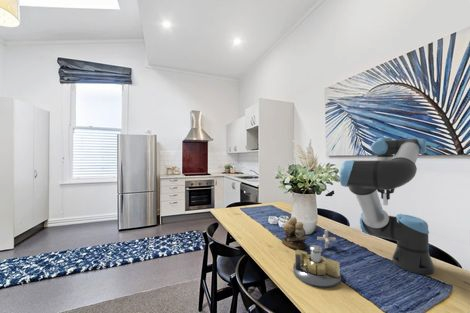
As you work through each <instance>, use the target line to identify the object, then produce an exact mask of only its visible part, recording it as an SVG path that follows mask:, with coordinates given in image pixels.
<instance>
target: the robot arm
mask: <svg viewBox="0 0 470 313" xmlns="http://www.w3.org/2000/svg"><path fill="white" fill-rule="evenodd" d="M370 149H371V151H372V153H373V154H376V155H377V156H376V160H355V159H353V160H345V161H344V162H343V163H342V164H341V167H340V171H339V182H340V183H339V184H340V186H342V187H344V188H345V187H346V188H348V189H349V191H350V192H351V193H352V194H354V195H355V197H356V199H357V202H358V203H359V206H360V208H361V211H362V213H360V216H359V224H360V225H359V226H360V229H361V231H362V232H363V233H364V234H366V235H369V236H373V237H379V238H382V239H387V240H390V241H396V248H395V249H394V252H393V255H392V263H393V264H394V265H395V266H397V267H398V268H400V269H402V270H405V271H407V272H410V273H414V274H419V275H432V274H434V273H435V265H434V262H433V260H432V257H431V255H430V252H429V251H430V249H429V247H430V246H429V244H430V243H429V234H430V231H429V225H428V222H427V221H426V220H424V219H422V218H420V217H418V216H414V215H409V214H403V213H398V214H396V215H395V216H393V215H389V214H388V213H387V212H386V211H385V210H384V209H383V206H388V205H389V201H390V199H391V194H395V189H398V188H401V187H402V186H404V185H406V184H408V183H409V182H411V180H413V179H414V178H415V176H416V174H417V169H418V168H417V165H416V163H417V160H418V157H419V155H420V154H421V155H423V154H425V153H427V140H426V138H408V139H393V138H392V137H379V138H377V139H376V141H373V143H371V146H370ZM378 193H380V196H381V197H379V194H378ZM380 198H381V200H382V202H383V204H382V203H381V200H380ZM382 205H383V206H382Z"/></svg>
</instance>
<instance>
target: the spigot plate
mask: <svg viewBox="0 0 470 313" xmlns="http://www.w3.org/2000/svg"><path fill="white" fill-rule="evenodd" d="M309 250H310V254H311V262H314V263H321V256H322V252H323V247H322V246H320V245H318V244H317V245H316V244H311V245H310V246H309ZM294 256H295V257H294V258H295V260H294V263H293V265H292V268H293V269H292V270H293V274H294V277H295V278H297V279H298V280H299V281H300V282H302V283H304V284H306V285H308V286H310V287H314V288H319V289H330V288H335V287H338V286H339V285H340V284H341V281H342V273H341V272H340V275H339V277H335V276H332V275H329V274H325V275H317V274H316V275H315V274H313V273H310V272H308V271H307V270H306V269H305V268H304V265H301V258H300V255H299V254H295V253H294Z"/></svg>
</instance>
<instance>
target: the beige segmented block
mask: <svg viewBox="0 0 470 313" xmlns="http://www.w3.org/2000/svg"><path fill="white" fill-rule="evenodd" d="M294 252H295V253H294V255H295V254H299V255H300V258H301V265H304V268H305V269H306V270H307V271H308V272H310V273H313V274H315V275H316V274H317V275H325V274H329V275H332V276H335V277H339V275H340V273H341V271H340V269H341V267H340V262H339V261H336V260H334V259H330V258H326V257H325V256H323V255H321V263H314V262H311V253H310V254H308V252H307V251H305V250H298V249H297V250H294Z"/></svg>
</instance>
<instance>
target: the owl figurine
mask: <svg viewBox="0 0 470 313" xmlns="http://www.w3.org/2000/svg"><path fill="white" fill-rule="evenodd" d="M283 232H284V236H285V237H283V238H282V239H281V243H282V244H283V245H284V246H285V247H286V248H289V249H291V250H294V251H296V250H297V249H298V250H301V251H305V250H307V248H308V246H307V244H306V243H305V241H306V240H308V237H307V236H306V230H305V228H304V223H303V222H301V221H298V220H297V218H296V217H294V216H292V217H290V218H289V219H288V220H287V221H285V223H284V224H283Z"/></svg>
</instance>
